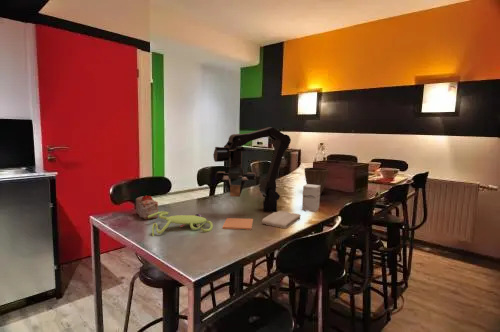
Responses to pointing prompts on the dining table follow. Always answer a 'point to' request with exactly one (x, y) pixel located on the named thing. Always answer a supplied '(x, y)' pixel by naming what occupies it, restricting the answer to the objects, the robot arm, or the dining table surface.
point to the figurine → (181, 221)
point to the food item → (146, 207)
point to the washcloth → (281, 219)
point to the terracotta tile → (238, 223)
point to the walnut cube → (235, 190)
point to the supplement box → (311, 197)
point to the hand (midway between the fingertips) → (235, 193)
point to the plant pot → (316, 176)
